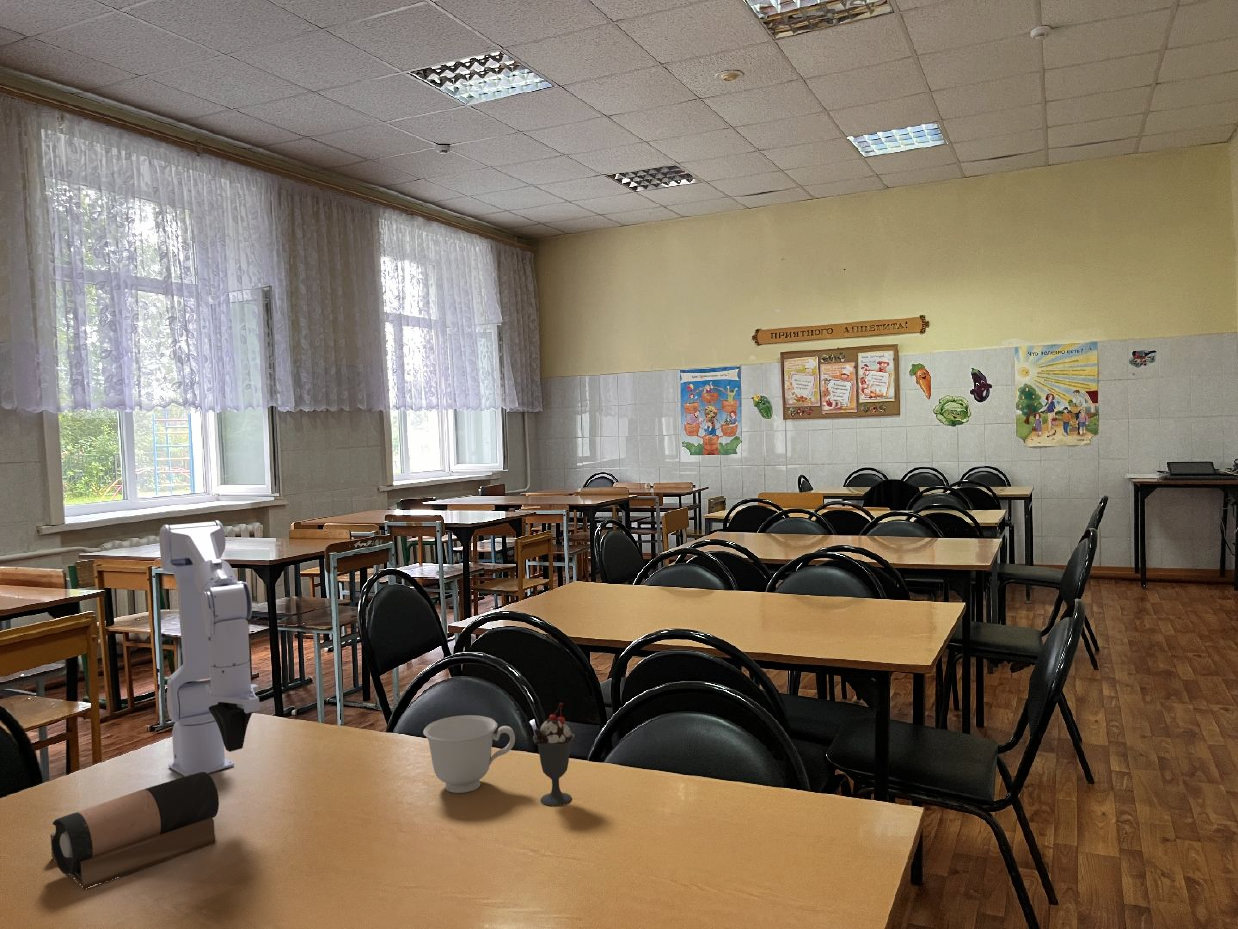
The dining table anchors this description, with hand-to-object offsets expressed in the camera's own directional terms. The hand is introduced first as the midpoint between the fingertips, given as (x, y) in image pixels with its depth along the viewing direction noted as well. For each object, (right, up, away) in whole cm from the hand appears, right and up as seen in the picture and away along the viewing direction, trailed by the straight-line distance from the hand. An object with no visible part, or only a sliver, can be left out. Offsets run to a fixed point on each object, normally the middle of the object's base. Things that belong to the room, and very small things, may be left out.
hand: (234, 749), depth 140 cm
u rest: (-10, -11, -11) cm, 18 cm away
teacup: (+35, -9, +9) cm, 38 cm away
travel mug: (-3, -6, -3) cm, 7 cm away
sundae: (+50, -9, +2) cm, 51 cm away
